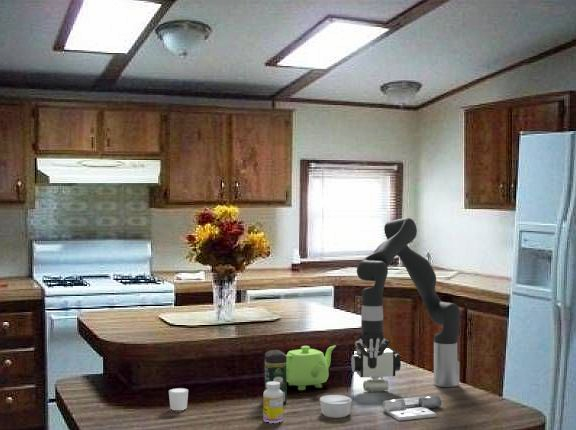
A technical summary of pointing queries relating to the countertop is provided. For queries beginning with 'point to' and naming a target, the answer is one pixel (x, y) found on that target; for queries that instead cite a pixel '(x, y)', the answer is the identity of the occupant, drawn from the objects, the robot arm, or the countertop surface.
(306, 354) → the teapot
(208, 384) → the countertop surface
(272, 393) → the supplement bottle
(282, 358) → the coffee jar
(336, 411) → the ramekin
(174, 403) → the shot glass
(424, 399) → the fixed leaf
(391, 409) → the loose leaf
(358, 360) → the ball valve
